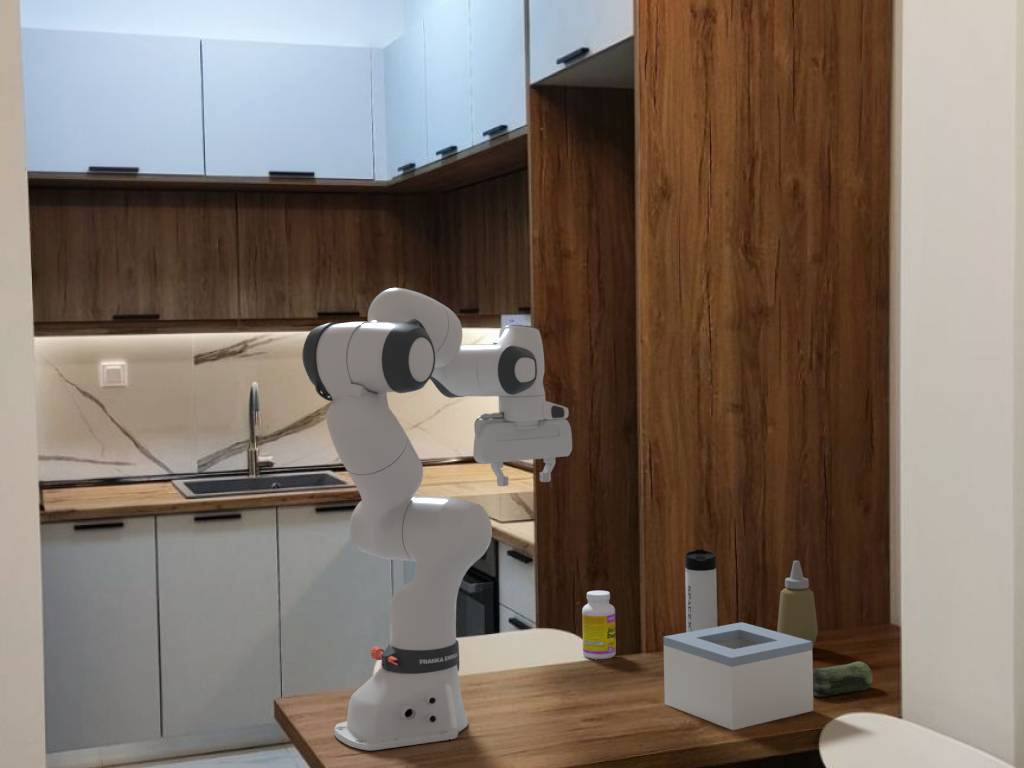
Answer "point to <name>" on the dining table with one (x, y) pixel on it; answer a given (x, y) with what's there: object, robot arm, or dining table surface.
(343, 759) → the dining table surface
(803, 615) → the squeeze bottle
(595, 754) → the dining table surface
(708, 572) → the travel mug
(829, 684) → the vegetable
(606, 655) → the supplement bottle
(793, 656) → the toy box
